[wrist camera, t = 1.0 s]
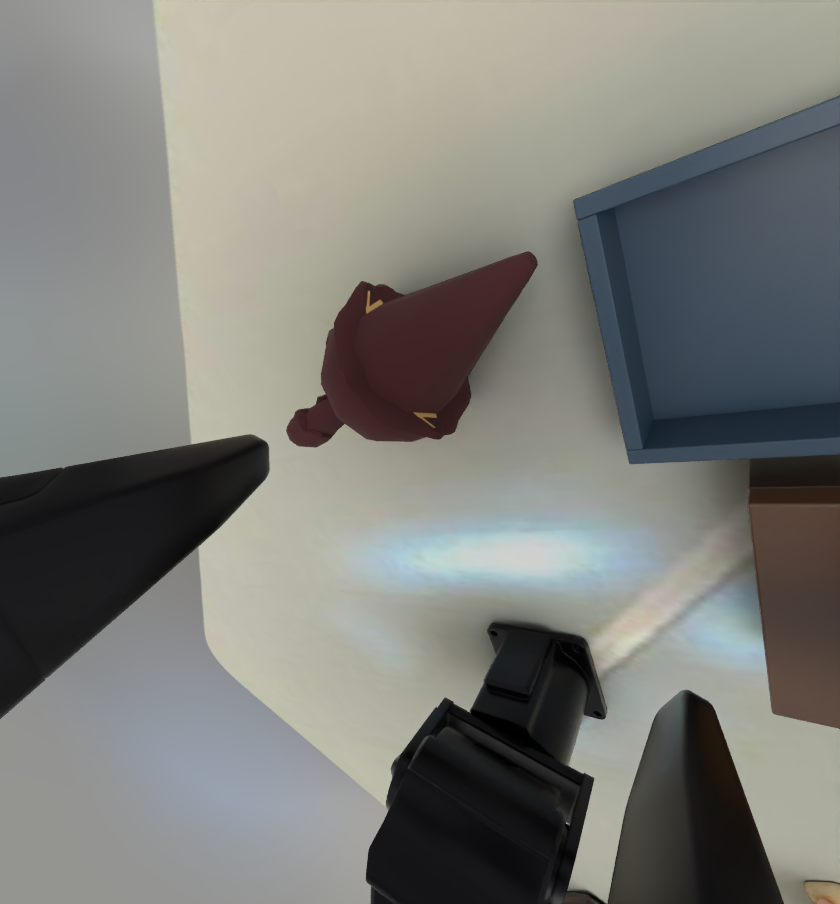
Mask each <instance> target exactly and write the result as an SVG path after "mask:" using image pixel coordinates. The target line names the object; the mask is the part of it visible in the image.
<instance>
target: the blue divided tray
mask: <svg viewBox="0 0 840 904" xmlns="http://www.w3.org/2000/svg"><path fill="white" fill-rule="evenodd" d="M573 203H574V208H575V213H576V217H577V220H578V227H579V231H580V236H581V241H582V245H583V250H584V255H585V259H586V264H587V269H588V273H589V278H590V283H591V287H592V292H593V297H594V301H595V306H596V311H597V315H598V320H599V325H600V329H601V334H602V339H603V343H604V348H605V353H606V357H607V362H608V367H609V372H610V376H611V381H612V386H613V390H614V395H615V400H616V404H617V409H618V414H619V418H620V423H621V428H622V432H623V437H624V442H625V446H626V450H627V455H628V460H629V463H630V464H643V463H664V462H686V461H708V460H729V459H751V458H773V457H794V456H816V455H838V454H840V96H837V97H835V98H832V99H830V100H827V101H825V102H822V103H820V104H817V105H814V106H812V107H809V108H807V109H804V110H802V111H799V112H797V113H794V114H792V115H789V116H786V117H784V118H781V119H779V120H776V121H774V122H771V123H769V124H766V125H764V126H761V127H758V128H756V129H753V130H751V131H748V132H746V133H743V134H741V135H738V136H736V137H733V138H730V139H728V140H725V141H723V142H720V143H718V144H715V145H713V146H710V147H707V148H705V149H702V150H700V151H697V152H695V153H692V154H690V155H687V156H685V157H682V158H679V159H677V160H674V161H672V162H669V163H667V164H664V165H662V166H659V167H657V168H654V169H651V170H649V171H646V172H644V173H641V174H639V175H636V176H634V177H631V178H628V179H626V180H623V181H621V182H618V183H616V184H613V185H611V186H608V187H606V188H603V189H600V190H598V191H595V192H593V193H590V194H588V195H585V196H583V197H580V198H578V199H575V200H574V201H573Z"/></svg>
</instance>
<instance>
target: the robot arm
mask: <svg viewBox="0 0 840 904" xmlns="http://www.w3.org/2000/svg"><path fill="white" fill-rule="evenodd" d="M268 473H269V446H268V444H267V442H265V441H264V440H262V439H260V438H259V437H257V436H255V435H251V434H250V435H243V436H237V437H232V438H226V439H220V440H215V441H209V442H203V443H198V444H192V445H187V446H182V447H175V448H170V449H164V450H158V451H153V452H147V453H141V454H136V455H130V456H125V457H119V458H113V459H108V460H102V461H96V462H91V463H85V464H79V465H74V466H68V467H65V468H64V469H63V468H56V469H51V470H45V471H40V472H33V473H27V474H21V475H15V476H8V477H1V478H0V719H1V718H2V717H3V716H4V715H5V714H7V713H8V712H9V711H10V710H11V709H12V708H14V707H15V706H16V705H17V704H18V703H19V702H20V701H22V700H23V699H24V698H25V697H26V696H27V695H29V694H30V693H31V692H32V691H33V690H34V689H35V688H37V687H38V686H39V685H40V684H41V683H42V682H43V681H45V678H47V677H49V676H50V675H51V674H52V673H53V672H55V671H56V670H57V669H58V668H59V667H60V666H61V665H63V664H64V663H65V662H66V661H67V660H68V659H70V658H71V657H72V656H73V655H74V654H75V653H76V652H78V651H79V650H80V649H81V648H82V647H83V646H84V645H86V644H87V643H88V642H89V641H90V640H91V639H92V638H93V637H95V636H96V635H97V634H98V633H99V632H101V631H102V630H103V629H104V628H105V627H106V626H107V625H109V624H110V623H111V622H112V621H113V620H114V619H116V618H117V617H118V616H119V615H120V614H121V613H122V612H124V611H125V610H126V609H127V608H128V607H129V606H130V605H132V604H133V603H134V602H135V601H136V600H137V599H138V598H140V597H141V596H142V595H143V594H144V593H145V592H147V591H148V590H149V589H150V588H151V587H152V586H153V585H154V584H156V583H157V582H158V581H159V580H160V579H161V578H162V577H164V576H165V575H166V574H167V573H168V572H169V571H171V570H172V569H173V568H174V567H175V566H176V565H177V564H179V563H180V562H181V561H182V560H183V559H184V558H186V557H187V556H188V555H189V554H190V553H191V552H192V551H193V550H195V549H196V548H197V547H198V546H199V545H201V544H202V543H203V542H204V541H205V540H206V539H207V538H209V537H210V536H211V535H212V534H213V533H214V532H215V531H216V530H217V529H219V528H220V527H221V526H222V525H223V524H224V523H225V522H226V521H227V520H228V519H229V518H230V516H231V515H232V514H233V513H234V512H235V511H236V510H237V509H238V508H239V507H240V506H241V505H242V504H243V503H244V502H245V500H246V499H247V498H248V497H249V496H250V495H251V494H252V493H253V492H254V491H255V490H256V489H257V488H258V487H259V486H260V484H261V483H262V482H263V481H264V480H265V479H266V477H267V476H268ZM487 632H488V634H489V637H490V640H491V642H492V645H493V647H494V650H495V652H496V656H495V658H494V660H493V662H492V664H491V666H490V668H489V670H488V672H487V674H486V676H485V678H484V684H483V686H482V688H481V690H480V692H479V694H478V696H477V698H476V700H475V702H474V704H473V706H472V708H471V710H470V712H471V713H470V712H468V711H466V710H464V709H462V708H461V707H459V706H457V705H455V704H454V702H453V701H451V700H449V699H448V698H444V700H443V701H442V702H441V704H440V705H439V706H438V708H437V707H436V708H435V709H434V710H433V712H432V713H431V714H430V716H429V717H428V718H427V720H426V721H425V722H424V724H423V725H422V726H421V728H420V729H419V731H418V732H417V733H416V735H415V736H414V737H413V739H412V740H411V741H410V743H409V744H408V745H407V747H406V748H405V749H404V751H403V752H402V753H401V754H400V755H399V756H398V757H397V758H396V759H395V760H394V762H393V764H392V766H391V773H392V781H391V784H390V787H389V791H388V795H387V800H386V807H387V809H388V810H389V811H388V813H387V815H386V817H385V820H384V822H383V824H382V825H381V827H380V829H379V831H378V833H377V835H376V836H375V838H374V840H373V842H372V844H371V846H370V848H369V852H368V861H367V870H366V881H367V883H368V884H369V885H371V904H563V903H564V900H565V896H566V893H567V889H568V885H569V881H570V878H571V874H572V870H573V866H574V862H575V858H576V854H577V850H578V846H579V842H580V837H581V833H582V829H583V825H584V820H585V816H586V812H587V808H588V803H589V799H590V795H591V791H592V786H593V782H594V778H593V777H591V776H589V775H588V774H586V773H584V774H582V773H580V772H578V771H576V770H575V769H573V768H571V767H569V766H568V765H569V762H570V759H571V755H572V752H573V749H574V745H575V742H576V739H577V735H578V732H579V729H580V725H581V722H582V719H583V715H586V716H590V717H593V718H597V719H605V718H606V714H607V708H606V705H605V702H604V698H603V695H602V691H601V688H600V685H599V681H598V678H597V674H596V671H595V668H594V664H593V661H592V657H591V654H590V651H589V647H588V645H587V643H586V642H585V641H584V640H582V639H580V638H576V637H570V636H564V635H559V634H553V633H547V632H542V631H536V630H530V629H524V628H519V627H513V626H507V625H502V624H496V623H492V624H490V626H489V628H488V630H487ZM566 822H567V823H569V824H566ZM608 904H784V903H783V900H782V897H781V894H780V891H779V889H778V886H777V883H776V880H775V877H774V875H773V872H772V869H771V866H770V863H769V861H768V858H767V855H766V852H765V849H764V847H763V844H762V841H761V838H760V835H759V833H758V830H757V827H756V824H755V821H754V819H753V816H752V813H751V810H750V807H749V804H748V802H747V799H746V796H745V793H744V790H743V788H742V785H741V782H740V779H739V776H738V774H737V771H736V768H735V765H734V762H733V760H732V757H731V754H730V751H729V748H728V746H727V743H726V740H725V737H724V734H723V732H722V729H721V726H720V723H719V720H718V718H717V715H716V712H715V710H714V708H713V706H712V705H711V704H710V703H709V702H708V701H707V700H705V699H703V698H702V697H700V696H698V695H696V694H695V693H693V692H691V691H689V690H682V691H681V692H679V693H678V694H677V695H676V696H675V697H673V698H672V699H671V700H670V701H669V702H668V703H666V704H665V705H664V706H663V707H662V708H661V709H660V710H659V711H658V713H657V714H656V716H655V718H654V721H653V724H652V727H651V730H650V733H649V736H648V739H647V742H646V746H645V749H644V752H643V755H642V758H641V761H640V764H639V767H638V771H637V774H636V777H635V780H634V783H633V786H632V789H631V792H630V796H629V799H628V803H627V806H626V810H625V815H624V819H623V824H622V829H621V835H620V840H619V845H618V851H617V856H616V861H615V867H614V872H613V877H612V883H611V888H610V893H609V899H608Z"/></svg>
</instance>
